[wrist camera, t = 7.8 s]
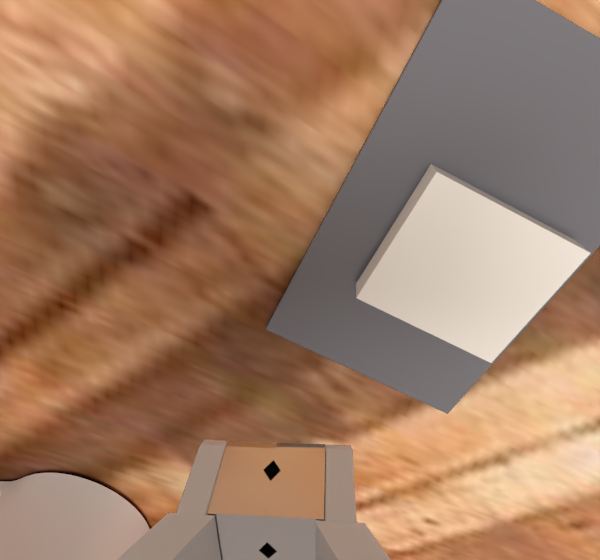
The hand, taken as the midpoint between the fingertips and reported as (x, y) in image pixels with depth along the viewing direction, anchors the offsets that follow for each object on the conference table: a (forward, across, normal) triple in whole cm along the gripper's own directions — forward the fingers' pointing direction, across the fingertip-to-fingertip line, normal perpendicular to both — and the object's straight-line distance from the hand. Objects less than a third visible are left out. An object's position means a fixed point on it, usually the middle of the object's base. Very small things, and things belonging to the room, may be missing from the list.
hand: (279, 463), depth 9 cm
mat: (+18, -8, +2) cm, 20 cm away
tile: (+16, -4, +1) cm, 17 cm away
